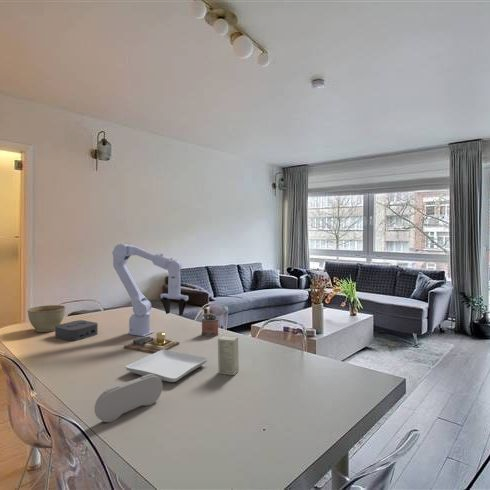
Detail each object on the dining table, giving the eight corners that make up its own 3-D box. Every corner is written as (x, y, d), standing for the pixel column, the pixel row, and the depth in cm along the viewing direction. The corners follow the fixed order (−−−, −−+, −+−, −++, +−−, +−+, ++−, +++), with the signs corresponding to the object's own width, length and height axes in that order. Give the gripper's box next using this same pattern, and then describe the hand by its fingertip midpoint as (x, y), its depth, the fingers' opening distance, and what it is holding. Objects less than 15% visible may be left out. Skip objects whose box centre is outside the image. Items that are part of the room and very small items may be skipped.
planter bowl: (72, 328, 177) (72, 307, 176) (38, 336, 163) (38, 313, 163) (54, 324, 185) (54, 303, 185) (21, 331, 172) (20, 308, 171)
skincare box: (238, 371, 125) (239, 336, 124) (234, 376, 120) (234, 340, 120) (222, 368, 127) (222, 334, 126) (217, 373, 122) (217, 338, 122)
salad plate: (209, 365, 130) (209, 356, 130) (175, 388, 111) (175, 377, 111) (163, 356, 139) (163, 348, 139) (123, 376, 120) (123, 366, 120)
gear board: (124, 347, 148) (124, 342, 148) (146, 338, 161) (146, 333, 161) (159, 354, 141) (159, 348, 141) (179, 344, 154) (179, 338, 154)
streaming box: (80, 330, 176) (80, 319, 176) (100, 334, 169) (100, 323, 169) (52, 337, 163) (52, 326, 163) (72, 342, 156) (72, 330, 156)
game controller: (158, 397, 104) (158, 369, 104) (162, 400, 103) (162, 371, 103) (93, 424, 90) (93, 392, 89) (98, 427, 88) (98, 394, 88)
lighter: (218, 334, 170) (219, 313, 170) (217, 336, 166) (217, 314, 166) (202, 333, 171) (202, 312, 170) (200, 335, 167) (200, 314, 167)
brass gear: (151, 346, 148) (151, 334, 148) (159, 342, 153) (159, 331, 153) (162, 347, 146) (162, 335, 146) (170, 344, 151) (170, 332, 151)
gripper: (156, 285, 168) (156, 314, 168) (182, 288, 162) (182, 317, 163) (165, 283, 174) (165, 311, 175) (190, 285, 169) (190, 314, 169)
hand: (174, 314), depth 169 cm, fingers open, 7 cm apart
